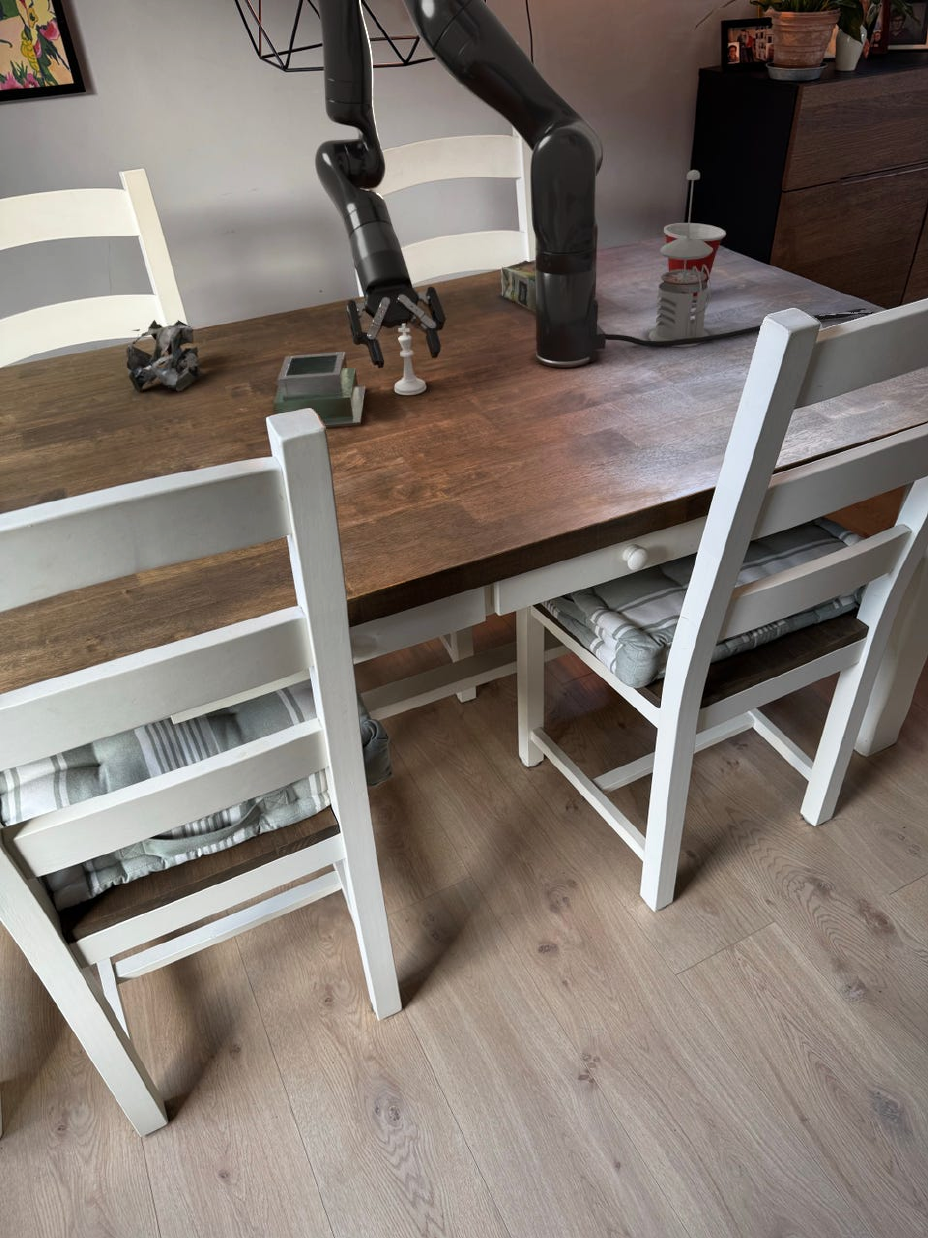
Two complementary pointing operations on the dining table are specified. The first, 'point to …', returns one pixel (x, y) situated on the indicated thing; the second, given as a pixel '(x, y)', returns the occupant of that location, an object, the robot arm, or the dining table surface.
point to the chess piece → (408, 368)
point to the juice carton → (520, 284)
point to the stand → (321, 388)
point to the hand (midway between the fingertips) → (408, 360)
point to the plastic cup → (696, 231)
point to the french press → (683, 289)
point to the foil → (165, 358)
